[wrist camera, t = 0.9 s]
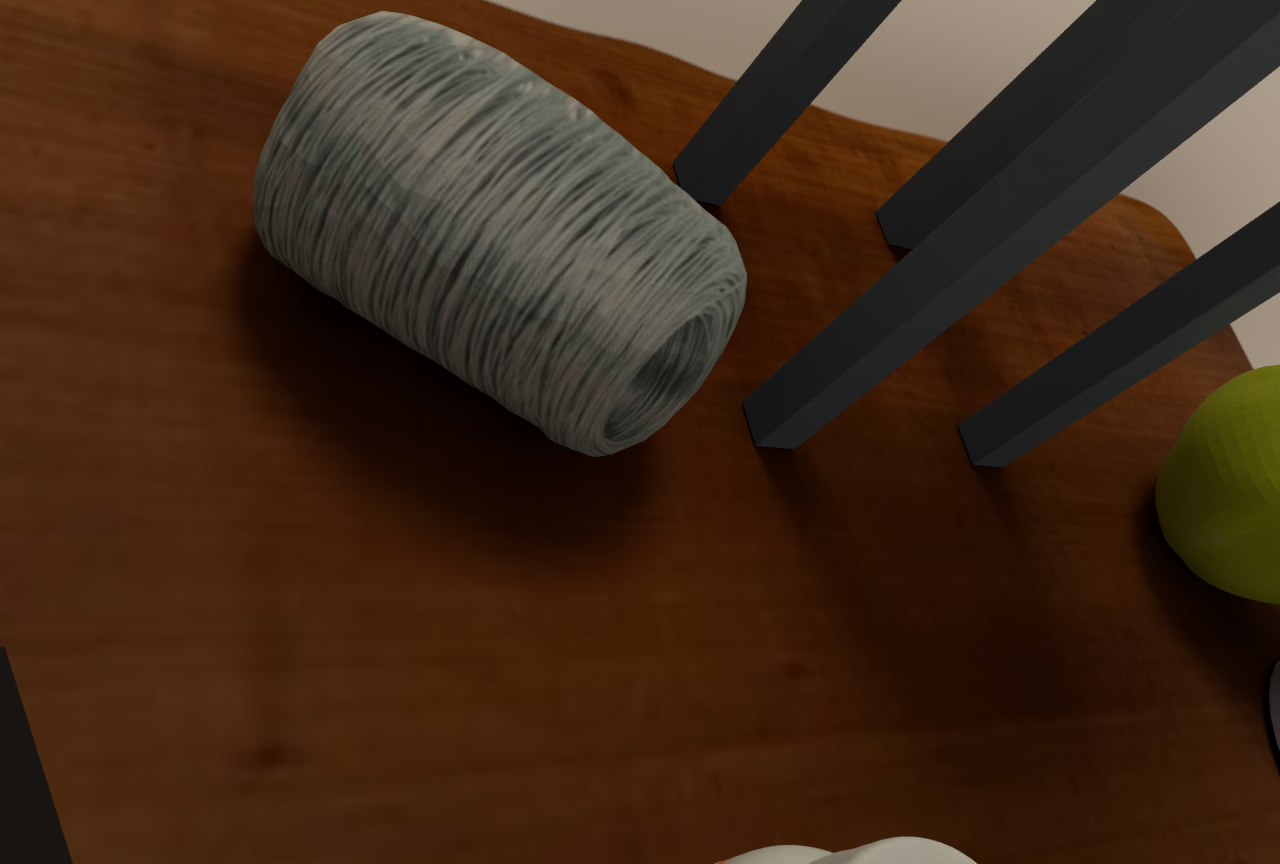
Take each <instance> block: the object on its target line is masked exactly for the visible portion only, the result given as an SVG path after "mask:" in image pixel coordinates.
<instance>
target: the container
mask: <svg viewBox="0 0 1280 864" xmlns="http://www.w3.org/2000/svg"><path fill="white" fill-rule="evenodd" d="M1269 716H1270V726H1271V730H1272V734H1273V739H1274V743H1275V747H1276V750H1277V753H1278V756H1279V759H1280V660H1279V661H1278V662H1277V664H1276V665H1275V668H1274V670H1273V673H1272V676H1271V680H1270V692H1269Z"/></svg>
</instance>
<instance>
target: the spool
mask: <svg viewBox="0 0 1280 864" xmlns="http://www.w3.org/2000/svg"><path fill="white" fill-rule="evenodd" d="M254 214H255V229H256V231H257V233H258V235H259V237H260V239H261V241H262V243H263V245H264V247H265V248H266V249H267V251H268V252H269V253H270V255H271V256H272V257H274V258H275V259H277V260H278V261H279V262H281V263H282V264H284V265H285V266H287V267H288V268H289V269H291V270H292V271H294V272H295V273H296V274H298V275H299V276H301V277H302V278H303V279H305V280H306V281H307V282H308V283H309V284H311V285H312V286H313V287H314V288H315V289H317V290H318V291H320V292H322V293H324V294H326V295H329V296H331V297H333V298H335V299H336V300H338V301H339V302H340V303H341V304H342V305H344V306H345V307H346V308H347V309H349V310H351V311H353V312H355V313H356V314H358V315H360V316H362V317H363V318H365V319H367V320H368V321H370V322H371V323H373V324H374V325H376V326H378V327H379V328H381V329H382V330H384V331H385V332H386V333H388V334H389V335H390V336H392V337H393V338H395V339H396V340H398V341H400V342H401V343H403V344H404V345H406V346H408V347H409V348H411V349H413V350H415V351H417V352H419V353H420V354H422V355H424V356H426V357H428V358H430V359H431V360H433V361H434V362H436V363H437V364H439V365H441V366H442V367H444V368H445V369H447V370H448V371H450V372H451V373H453V374H454V375H456V376H457V377H459V378H460V379H461V380H463V381H464V382H466V383H467V384H469V385H471V386H472V387H474V388H476V389H478V390H480V391H481V392H483V393H485V394H487V395H489V396H491V397H492V398H493V399H495V400H496V401H497V402H499V403H500V404H501V405H502V406H504V407H505V408H506V409H508V410H509V411H510V412H512V413H514V414H516V415H518V416H520V417H522V418H523V419H525V420H527V421H529V422H530V423H532V424H534V425H535V426H537V427H538V428H540V430H541V431H542V432H543V433H544V434H545V435H546V436H547V437H548V438H549V439H550V440H551V441H553V442H555V443H558V444H560V445H563V446H565V447H568V448H570V449H572V450H575V451H578V452H581V453H584V454H587V455H590V456H592V457H598V456H604V455H611V454H614V453H616V452H619V451H621V450H623V449H625V448H628V447H630V446H632V445H635V444H637V443H639V442H642V441H644V440H646V439H647V438H648V437H649V436H651V435H652V434H653V433H654V432H656V431H657V430H658V429H660V428H661V427H662V426H664V425H665V424H666V423H667V422H668V420H669V419H670V418H672V416H673V415H674V414H675V413H676V412H677V411H678V410H679V409H680V408H681V407H682V406H683V405H684V404H685V403H686V402H687V401H688V400H689V399H690V398H691V397H692V396H693V395H694V394H695V393H696V391H697V390H698V389H699V388H700V386H701V385H702V383H703V382H704V380H705V379H706V377H707V376H708V374H709V373H710V372H711V370H712V368H713V367H714V365H715V364H716V362H717V361H718V359H719V357H720V356H721V354H722V352H723V350H724V349H725V347H726V345H727V343H728V341H729V339H730V337H731V335H732V333H733V331H734V329H735V327H736V324H737V322H738V319H739V317H740V314H741V311H742V309H743V306H744V304H745V296H746V285H747V273H746V270H745V267H744V264H743V261H742V258H741V255H740V252H739V249H738V246H737V243H736V241H735V239H734V238H733V236H732V235H731V233H730V232H729V230H728V228H727V227H726V226H725V225H723V224H722V223H721V222H720V221H718V220H717V219H716V218H714V217H713V216H712V215H711V214H709V213H708V212H707V211H705V210H704V209H703V208H702V207H701V206H700V205H699V204H698V203H697V202H696V201H695V200H694V199H693V198H692V197H691V196H690V195H688V194H687V193H686V192H685V191H684V190H683V189H681V188H680V187H678V186H677V185H676V184H674V183H673V182H672V181H671V180H670V179H669V178H668V177H667V175H666V174H665V173H664V172H663V171H662V170H661V169H660V168H659V167H658V166H657V165H655V164H654V163H653V162H652V161H651V160H650V159H648V158H647V157H646V156H645V155H643V154H642V153H640V152H639V151H638V150H637V149H636V148H635V147H633V146H632V145H631V144H630V143H629V142H628V141H627V140H626V139H625V138H623V137H622V136H621V135H620V134H619V133H617V132H616V131H615V130H613V129H612V128H611V127H609V126H608V125H607V124H605V123H604V122H603V121H602V120H601V119H600V118H598V117H597V116H596V115H595V114H594V113H593V112H592V111H591V110H589V109H588V108H587V107H585V106H584V105H582V104H581V103H580V102H578V101H577V100H575V99H574V98H572V97H571V96H569V95H568V94H566V93H564V92H563V91H561V90H559V89H558V88H556V87H554V86H553V85H551V84H549V83H547V82H546V81H545V80H543V79H542V78H540V77H539V76H538V75H536V74H535V73H533V72H532V71H530V70H529V69H527V68H525V67H524V66H522V65H521V64H519V63H517V62H516V61H515V60H513V59H512V58H510V57H509V56H507V55H506V54H505V53H503V52H501V51H499V50H497V49H495V48H493V47H491V46H489V45H487V44H485V43H482V42H480V41H478V40H476V39H474V38H471V37H469V36H467V35H465V34H463V33H460V32H458V31H455V30H453V29H450V28H448V27H445V26H443V25H440V24H437V23H434V22H430V21H427V20H424V19H421V18H418V17H414V16H411V15H406V14H401V13H393V12H385V11H381V12H378V13H375V14H372V15H368V16H365V17H362V18H359V19H356V20H354V21H351V22H348V23H345V24H342V25H339V26H338V27H337V28H335V29H334V30H333V31H332V32H331V33H330V34H328V35H327V36H326V37H325V38H324V39H323V40H322V41H320V42H319V43H318V44H317V46H316V48H315V50H314V51H313V53H312V55H311V56H310V58H309V60H308V61H307V63H306V64H305V66H304V67H303V69H302V71H301V72H300V74H299V75H298V78H297V80H296V82H295V84H294V86H293V89H292V91H291V93H290V95H289V96H288V98H287V100H286V102H285V103H284V105H283V107H282V109H281V110H280V112H279V114H278V116H277V118H276V120H275V122H274V125H273V127H272V130H271V133H270V135H269V138H268V140H267V142H266V144H265V146H264V148H263V150H262V152H261V154H260V157H259V161H258V165H257V169H256V173H255V177H254Z"/></svg>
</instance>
